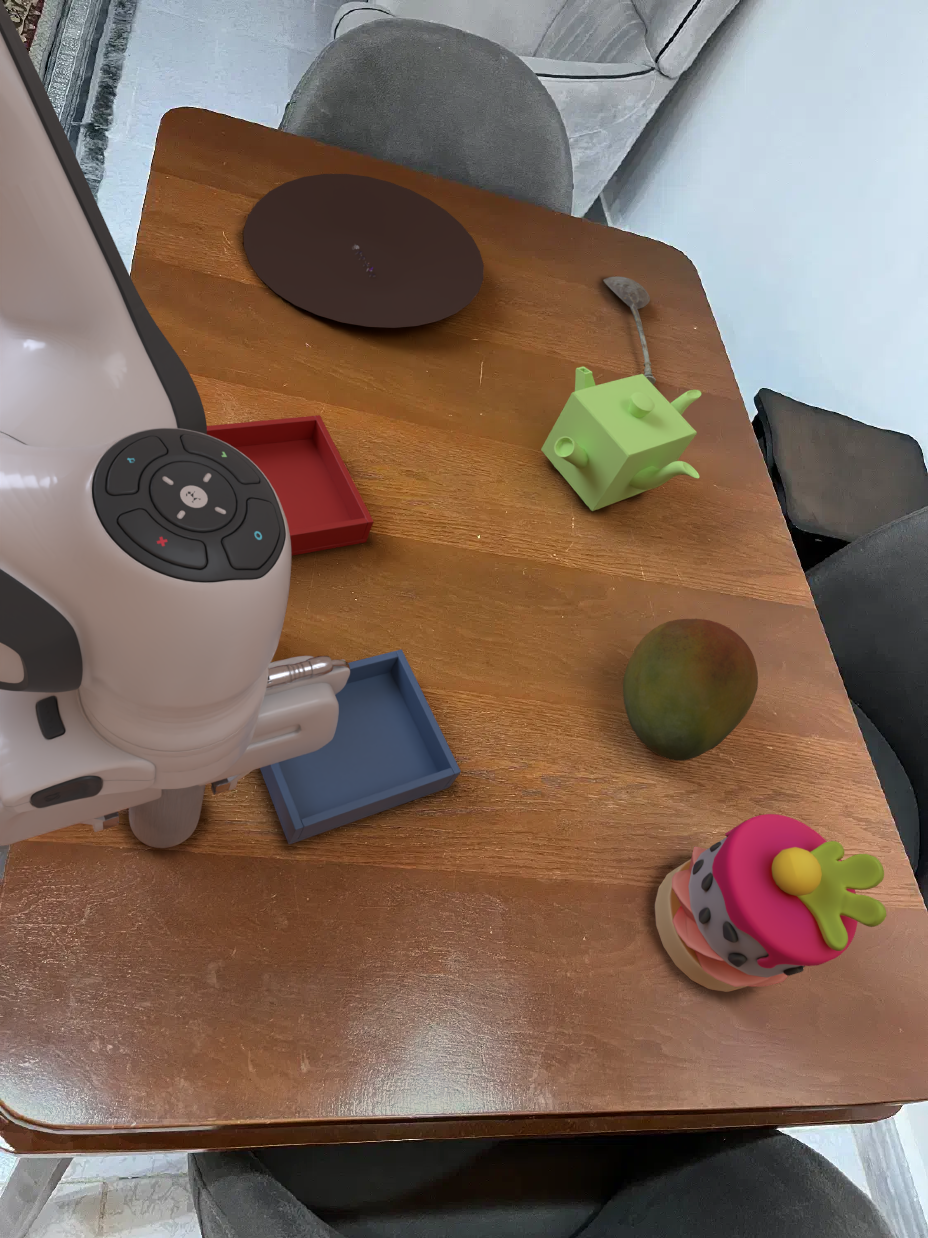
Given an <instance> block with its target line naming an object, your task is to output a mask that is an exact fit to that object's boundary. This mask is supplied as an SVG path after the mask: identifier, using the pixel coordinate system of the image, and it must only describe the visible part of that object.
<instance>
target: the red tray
mask: <svg viewBox="0 0 928 1238" xmlns="http://www.w3.org/2000/svg"><path fill="white" fill-rule="evenodd" d="M207 435H209V436H212V437H214V438H217V439H219V440H221V441H223V442H225V443H227V444H229V445H231V446H232V447H234V448H236V449H237V450H238V451H240V452H241V453H243V454H244V455H245V456H246V457H248V458H249V459H250V460H251V461H252V462H253V463H254V464H255V465H256V466H257V467H258V468H259V469H260V470H261V471H262V472H263V473H264V475H265V476H266V478H267V479H268V480H269V482H270V483H271V485H272V487H273V488H274V490H275V492H276V494H277V496H278V498H279V500H280V503H281V505H282V508H283V511H284V513H285V516H286V519H287V523H288V528H289V533H290V539H291V557H292V556H298V555H302V554H309V553H315V552H319V551H325V550H332V549H336V548H342V547H347V546H348V547H349V546H354V545H359V544H364V543H367V541H368V538H369V535H370V532H371V530H372V528H373V525H374V519H373V517H372V515H371V513H370V512H369V509H368V508H367V505H366V504H365V501H364V499H363V497H362V496H361V494H360V492H359V490H358V488H357V486H356V484H355V482H354V480H353V478H352V475H351V473H350V472H349V470H348V468H347V466H346V464H345V462H344V460H343V458H342V456H341V454H340V452H339V450H338V448H337V446H336V444H335V442H334V440H333V438H332V437H331V434H330V432H329V430H328V429H327V426H326V423H325V422H324V421H323V418H322V417H321V414H317V415H307V416H296V417H286V418H276V419H275V418H274V419H265V420H255V421H245V422H244V421H243V422H242V421H241V422H233V423H224V424H222V423H221V424H212V425H207Z"/></svg>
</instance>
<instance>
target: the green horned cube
mask: <svg viewBox="0 0 928 1238" xmlns="http://www.w3.org/2000/svg"><path fill="white" fill-rule="evenodd" d="M574 377H575V379H574V382H575V383H574V391H573V392H571V394H570V395H569V397H568V399H567V401H566V402H565V404H564V406H563V409H562V410H561V412H560V414H559V416H558V417H557V419H556V421H555V423H554V425H553V426H552V428H551V430H550V431H549V434H548V436H547V437H546V439H545V441H544V443H543V445H542V446H541V448H540V451H541V452H542V453H543V454H544V455H545V457H547V459H548V460H549V461H550V462H551V464H552V465H553V467H554V468H555V469H556V470H557V471H558V472H559V473H560V475H561V476H562V477H563V478H564V480H565V481H566V482H567V483H568V484H569V485H570V486H571V488H572V489H573V491H575V493H576V494H577V495H578V496H579V498H580V499H581V500H582V501H583V503H584V504H585V505H586V506H587V507H588V508H589V510H590V511H591V512H594V511H596V510H597V511H598V510H600V509H602V508H604V507H607V506H610V505H613V504H616V503H618V502H620V501H623V500H626V499H628V498H631V497H634V496H637V495H639V494H641V493H644V492H648V491H650V490H654V489H656V488H659V487H661V486H662V485H664V484H666V483H667V482H669V481H670V480H672V479H673V478H675V477H677V476H680V475H685V476H688V477H691V478H693V479H699V478H700V474H699V473H698V471H697V470H696V469H695V468H694V467H693V466H692V465H691V464H690V463H689V462H686V461H682V460H679V459H680V457H681V456H682V455H683V453H684V452H685V450H686V449H687V448H688V447H689V445H690V444H691V442H692V441H693V440H694V438H695V437H696V436H697V434H698V433H697V431H696V429H694V428H693V426H692V425H690V423H689V422H688V421H687V420H686V419H685V418H684V417H683V416H682V415H683V414H684V412H685V411H686V410H687V409H688V407H689V406H691V404H692V403H694V402H695V401H697V400H698V399H699V398H700V397H701V396H702V391H701V390H700V389H690V390H687V391H685V392H684V393H682V394H681V395H680V396H678V397H677V398H675V399H674V400H673V401H671V402H670V401H669V400H667V398H666V397H665V396H664V395H663V394H662V393H661V392H660V391H659V390H658V389H657V387H655V385H654V384H653V385H652V383H651V382H650V381H649V380H648V379H647V378H646V377H645V376H644V374H643V373H640V374H636V375H631V376H628V377H624V378H620V379H616V380H611V381H608V382H605V383H601V384H596V382H595V378H594V376H593V371H592V370H590V369H589V368H587V367H586V366H583V365H582V366H580V367H576V368H575V376H574Z"/></svg>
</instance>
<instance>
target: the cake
mask: <svg viewBox="0 0 928 1238" xmlns="http://www.w3.org/2000/svg"><path fill="white" fill-rule="evenodd" d="M724 834H725V835H724V836H725V837H724V838H722V839H720V840H719V841H717V842H715V843H714V844H712V845H711V846H709V848H704V847H700V846H693V849H692V854H691V858H690V859H689V860H687V861H685V862H684V863H682V864H681V865H679V866H677V867H676V868H674V869H673V870H671V871H670V872H669V873H667V874H666V876H665V877H664V879H663V880H662V882H661V883H660V885H659V887H658V889H657V893H656V898H655V902H654V914H655V926H656V929H657V932H658V936H659V938H660V941H661V943H662V946H663V948H664V951H666V952H667V954H668V956H669V957H670V959H671V961H672V962H673V964H674V965H675V966H676V967H677V968H678V969H679V970H680V971H681V972H682V973H683V974H684V975H685V976H686V977H687V978H689V980H691V981H692V982H693V983H697V984H698V985H700V986H702V987H703V988H706V989H708V990H712V991H718V992H725V993H729V992H732V991H736V990H740V989H744V988H747V987H768V986H772V985H776V984H780V983H784V981H785V980H786V979H788V977H789V976H793V975H796V974H800V973H802V972H804V968H805V967H813V966H814V967H815V966H820V965H823V964H825V963H828V962H829V961H832V960H834V959H836V958H838V957H839V956H841V955H842V954H844V952H845V951H846V950H847V949H848V948H849V946H850V945H851V943H852V942H853V940H854V938H855V934H856V932H857V928H858V923H860V924H861V925H864V926H866V927H869V928H875V927H877V926H879V925H882V923H883V922H884V921H885V920H886V917H887V908H886V907H885V905H884V904H883V903H882V902H881V901H880V900H879V899H876V898H874V897H872V896H869V895H866V894H859V893H856V891H867V890H871V889H873V888H876V887H877V886H879V885H880V884H881V883H882V882H883V881H884V878H885V870H884V866H883V864H882V863H881V861H880V860H879V859H878V858H877V857H876V856H874V855H871V854H868V853H857V854H854V855H851V856H849V857H847V858H845V859H844V857H845V848H844V846H843V845H842V844H841V843H840V842H838V841H836V840H830V841H828V840H826V838H824V837H823V835H821V834H819V832H817V831H816V830H815V829H813V828H811V826H810V825H809V826H808V825H807V824H806V823H804V822H802V821H800V820H798V819H795V818H793V817H790V816H787V815H783V814H777V813H764V814H759V815H755V816H752V817H751V818H749V819H746V820H744V821H742V822H740V823H739V824H738V825H736V826H734V827H733V828H731V829H730V830H729V831H727V832H725V833H724Z"/></svg>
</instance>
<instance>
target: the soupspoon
mask: <svg viewBox="0 0 928 1238" xmlns="http://www.w3.org/2000/svg"><path fill="white" fill-rule="evenodd" d="M603 282H604V284H605V285H606V286H607V287H608V289H610V290H611V291H612V292H613V293H614V295H616V296H617V297H618V298H619V299H620V300H621V301H622V302H623V303H624V304H625V305H626V306H627V307H629V309H630V311H631V314H632V317H633V319H634V322H635V325H636V329H637V332H638V338H639V340H640V345H641V349H642V354H643V359H644V362H643V367H644V369H643V371H644V374H643V375H644V376H645V377H646V378H647V379H648V380H649V381H650V382H651V383H652V385H653V386H654V384H656V382H657V379H656V378H655V377H654V374H653V373H652V371H653V369H652V368H651V367H652V362H651V361H650V355H649V350H648V344H647V339H646V336H645V332H644V327H643V324H642V320H641V316H640V313H639V310H640V309H643V308H645V307H646V306H647V305H648V304H649V303H650V301H651V296H650V295H649V293H648V291H647V289H646V288H645V287H643V285H642V284H640V283H639V282H637V281H636V280H634V279H632V278H628V277H625V276H609V277H606V278H604V279H603Z"/></svg>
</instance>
